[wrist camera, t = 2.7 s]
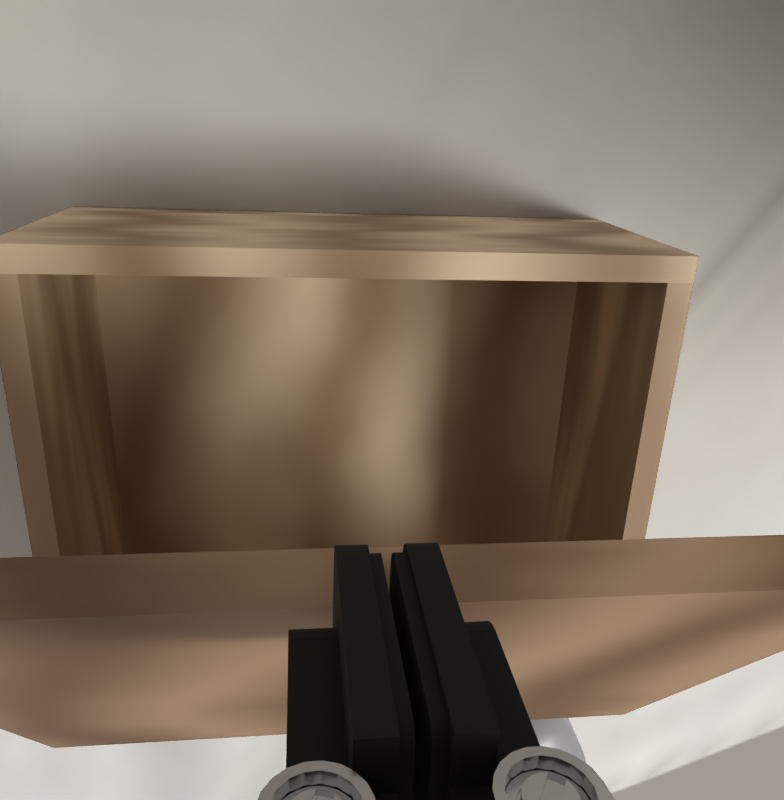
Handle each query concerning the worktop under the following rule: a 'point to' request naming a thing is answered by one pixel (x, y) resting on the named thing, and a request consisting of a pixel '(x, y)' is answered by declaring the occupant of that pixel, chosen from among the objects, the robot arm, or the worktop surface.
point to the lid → (313, 608)
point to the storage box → (334, 378)
